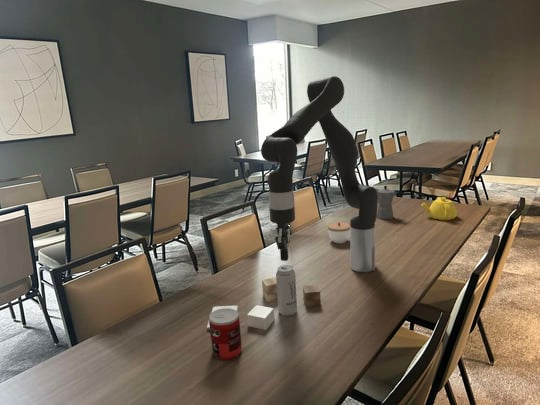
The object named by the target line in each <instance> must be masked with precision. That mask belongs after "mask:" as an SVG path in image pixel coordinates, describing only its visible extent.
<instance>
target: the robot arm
mask: <svg viewBox="0 0 540 405" xmlns="http://www.w3.org/2000/svg"><path fill="white" fill-rule="evenodd" d="M306 95H307V98H308V101H309V102H308V103H307V104H306V105H304V106H303V107H301V108H300V109H298V110H297V111H296V112H295V113H293V115H292V116H290V118H289V119H288V120H287V121H286V122H285V124H284V125H283V126H281V127H280V128H279V129H277V130H275V131H273V132H272V133H271V134H269V135H268V136H266V138H265V139H264V141H263V142H262V145H261V148H260V152H261V153H260V154H261V156H262V158H263V160H265V161H266V162H268V163H269V162H271V163H279V166H278V169H275V170H272V171H270V172H269V174H268V192H269V194H268V205H269V219H270V220H269V221H270V222H271V223H273V224H276V227H275V234H276V236H275V238H274V240H275V243H276V246H277V249H278V250H279V253H280V261H281V262H282V261H284V262H287V261H288V260H289V244H290V242H291V229H292V226H291V225H289V224H290V223H294V221H295V220H296V208H295V207H296V206H295V194H294V184H293V183H294V182H293V176H294V171H295V168H296V167H295V166H296V162H297V157H298V147H297V145H298V144H300V143H301V142H303V140H304V138H306V137H307V135H308V133H310V131H311V130H312V129H313V127H314V126H316V124H317V123H319V125H320V127H321V130H322V132H323V135H324V137H325V138H324V139H325V140H326V142H327V146H328V149H329V153H330V154H331V157H332V160H333V162H334V165H335V167H336V171H337V173H338V176H339V179H340V183H341V187H342V188H341V189H342V191H343V196H344V200H345V201H346V204H347V205H348V206H349V207H350V208H353V209H358V216H357V215H356V216H353V217H352V218H350V221H349V224H350V237H349V239H350V240H349V241H350V242H349V245H350V248H349V249H350V251H349V252H350V253H349V254H350V260H349V261H350V263H349V264H350V269H351V270H353V271H355V272H357V273H358V272H359V273H368V272H369V273H370V272H375V271H376V245H375V243H376V242H375V240H376V239H375V238H376V235H375V234H376V233H375V232H376V230H375V229H376V228H375V227H376V221H377V219H378V218H377V213H378V206H379V203H378V195H377V191H376V189H377V188H375V187H374V186H371V185H364V184H361V183H360V182H359V180H358V177H357V173H356V166H357V162H358V160H359V159H358V158H359V150H358V146H357V144H356V141H355V137H354V136H353V134H352V132H351V131H350V130H349V129H348V128H347V127H346V126H345V125H344V124H342V122H340V121H339V120H338V119H337V117H336V116H335V115H334V114H333V113H334V112H332V109H333V108H335V107H336V106H337V105H338V104H340V103H341V101H342V100H343V98H344V95H345V86H344V83H343V81H342V79H341V78H340V77H339V76H336V75H331V76H330V75H329V76H325V77H322V78H318V79H313V80H311V81H310V82H309V83H308V85H307V87H306Z"/></svg>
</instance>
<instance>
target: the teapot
mask: <svg viewBox="0 0 540 405" xmlns="http://www.w3.org/2000/svg"><path fill="white" fill-rule="evenodd" d="M421 207H422V208H423V209H424V210H425V211H426V212H427V213H428V216H429V217H430V218H431V219H433V220H436V219H439V220H438V221H452V220H454V219H455V218H456V217H457V216H458V211H457V207H456V205H455V204H454V202H453V201H452V200H450V199H448V198H446V196H445V197H444V196H442V197H440V196H438V197H436V199H435V200H434V201H433V202H432V203H431V204H430V207H429V206H428V204H427V203H426V202H423V203H421ZM451 219H452V220H451Z"/></svg>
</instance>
